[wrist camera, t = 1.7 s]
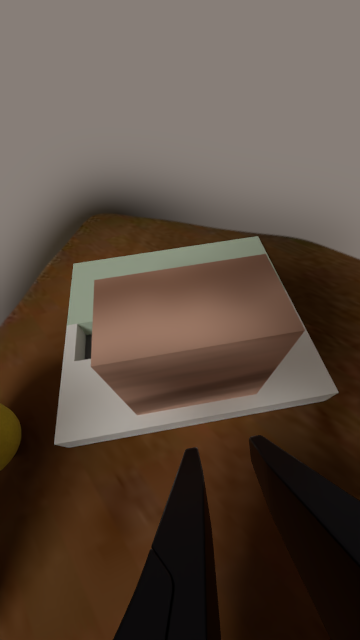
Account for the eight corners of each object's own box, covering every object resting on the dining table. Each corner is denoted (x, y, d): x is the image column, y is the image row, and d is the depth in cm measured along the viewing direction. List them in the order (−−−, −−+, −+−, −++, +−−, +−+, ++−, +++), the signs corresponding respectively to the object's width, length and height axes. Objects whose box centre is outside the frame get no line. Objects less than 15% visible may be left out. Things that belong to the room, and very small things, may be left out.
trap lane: (324, 400, 21) (338, 392, 19) (68, 447, 20) (54, 444, 18) (253, 252, 31) (257, 236, 29) (81, 278, 30) (73, 263, 28)
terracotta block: (256, 394, 19) (305, 330, 11) (137, 415, 19) (90, 366, 10) (238, 338, 22) (265, 253, 13) (133, 356, 21) (94, 280, 13)
